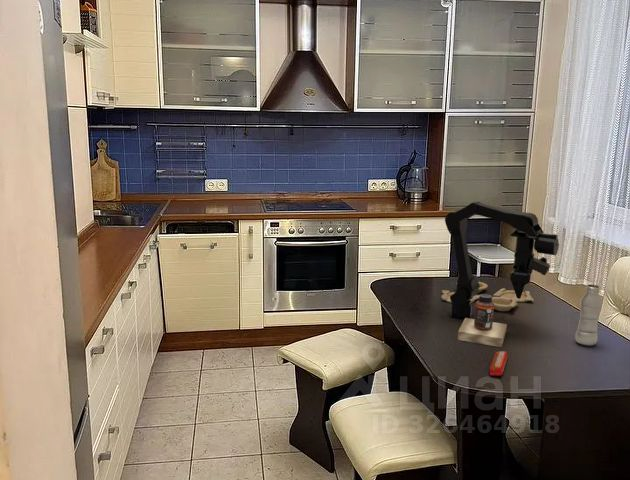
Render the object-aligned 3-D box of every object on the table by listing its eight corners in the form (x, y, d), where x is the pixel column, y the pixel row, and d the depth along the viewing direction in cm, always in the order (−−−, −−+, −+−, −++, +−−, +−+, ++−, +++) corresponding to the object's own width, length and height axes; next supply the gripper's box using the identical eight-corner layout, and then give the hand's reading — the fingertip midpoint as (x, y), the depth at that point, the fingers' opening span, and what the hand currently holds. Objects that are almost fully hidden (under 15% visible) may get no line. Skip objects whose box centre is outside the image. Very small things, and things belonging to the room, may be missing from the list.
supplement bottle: (492, 331, 189) (495, 299, 187) (474, 330, 191) (477, 297, 188) (491, 325, 195) (494, 293, 193) (473, 323, 196) (475, 292, 194)
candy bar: (495, 356, 178) (496, 347, 177) (508, 358, 177) (508, 349, 176) (488, 377, 164) (488, 367, 163) (501, 380, 162) (502, 370, 162)
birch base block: (457, 339, 190) (458, 331, 189) (464, 325, 202) (465, 317, 202) (501, 347, 184) (502, 338, 184) (505, 332, 197) (506, 324, 196)
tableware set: (538, 297, 236) (539, 288, 235) (523, 318, 212) (524, 308, 211) (455, 283, 254) (456, 274, 253) (432, 301, 229) (433, 291, 228)
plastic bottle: (570, 340, 191) (577, 283, 186) (589, 340, 191) (597, 283, 187) (580, 348, 185) (588, 289, 180) (600, 347, 185) (609, 289, 181)
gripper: (548, 259, 181) (543, 306, 185) (550, 247, 198) (545, 290, 202) (512, 255, 186) (507, 301, 189) (516, 243, 202) (512, 285, 206)
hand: (519, 294), depth 196 cm, fingers open, 9 cm apart
